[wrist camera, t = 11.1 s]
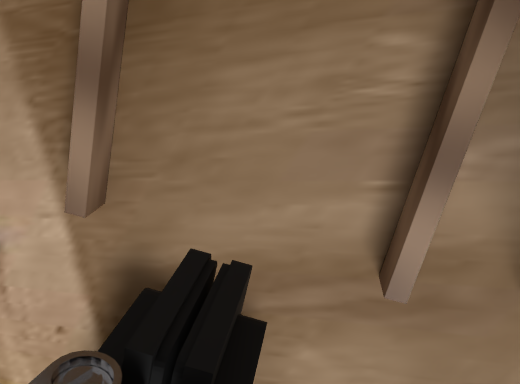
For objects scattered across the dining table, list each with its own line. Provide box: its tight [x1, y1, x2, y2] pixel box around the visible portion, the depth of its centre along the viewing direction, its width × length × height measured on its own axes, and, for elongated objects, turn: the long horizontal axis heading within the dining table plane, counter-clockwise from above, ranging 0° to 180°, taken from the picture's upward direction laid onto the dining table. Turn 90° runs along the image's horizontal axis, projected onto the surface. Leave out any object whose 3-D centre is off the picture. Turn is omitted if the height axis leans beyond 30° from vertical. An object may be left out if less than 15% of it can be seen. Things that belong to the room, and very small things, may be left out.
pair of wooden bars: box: [65, 0, 520, 304], centre depth 19 cm, size 14×16×2 cm
